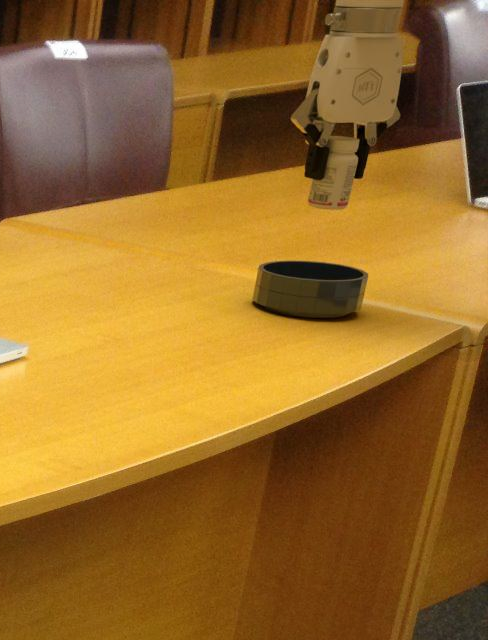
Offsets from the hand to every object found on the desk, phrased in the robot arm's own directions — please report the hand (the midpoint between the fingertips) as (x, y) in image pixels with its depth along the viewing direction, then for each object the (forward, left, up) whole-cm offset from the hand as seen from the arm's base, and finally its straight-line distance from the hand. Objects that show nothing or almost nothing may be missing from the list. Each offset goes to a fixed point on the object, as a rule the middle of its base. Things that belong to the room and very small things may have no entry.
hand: (333, 176), depth 195 cm
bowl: (0, 0, -17) cm, 17 cm away
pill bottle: (0, 0, -4) cm, 4 cm away
